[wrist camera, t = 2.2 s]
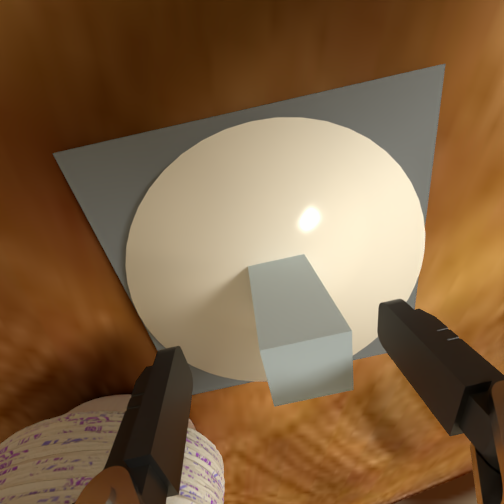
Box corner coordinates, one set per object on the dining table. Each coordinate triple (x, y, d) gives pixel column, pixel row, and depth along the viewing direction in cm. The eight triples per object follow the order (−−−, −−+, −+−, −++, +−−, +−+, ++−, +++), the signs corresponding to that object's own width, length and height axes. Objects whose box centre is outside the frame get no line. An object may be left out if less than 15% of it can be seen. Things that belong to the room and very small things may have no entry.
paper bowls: (254, 390, 19) (270, 539, 12) (190, 483, 25) (175, 623, 18) (39, 340, 15) (-124, 518, 8) (20, 464, 21) (-88, 634, 14)
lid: (432, 80, 10) (673, 17, 5) (403, 344, 17) (486, 444, 12) (70, 163, 11) (-111, 196, 5) (187, 390, 18) (167, 511, 12)
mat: (434, 67, 11) (445, 63, 10) (404, 341, 18) (409, 347, 18) (61, 152, 11) (52, 153, 10) (183, 389, 18) (182, 396, 18)
